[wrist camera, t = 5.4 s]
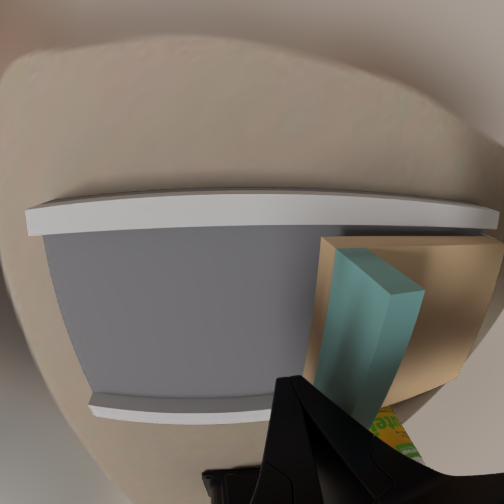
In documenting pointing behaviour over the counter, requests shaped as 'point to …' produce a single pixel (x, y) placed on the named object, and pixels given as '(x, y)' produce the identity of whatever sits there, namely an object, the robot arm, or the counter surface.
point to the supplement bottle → (394, 433)
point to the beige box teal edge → (396, 315)
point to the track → (208, 287)
